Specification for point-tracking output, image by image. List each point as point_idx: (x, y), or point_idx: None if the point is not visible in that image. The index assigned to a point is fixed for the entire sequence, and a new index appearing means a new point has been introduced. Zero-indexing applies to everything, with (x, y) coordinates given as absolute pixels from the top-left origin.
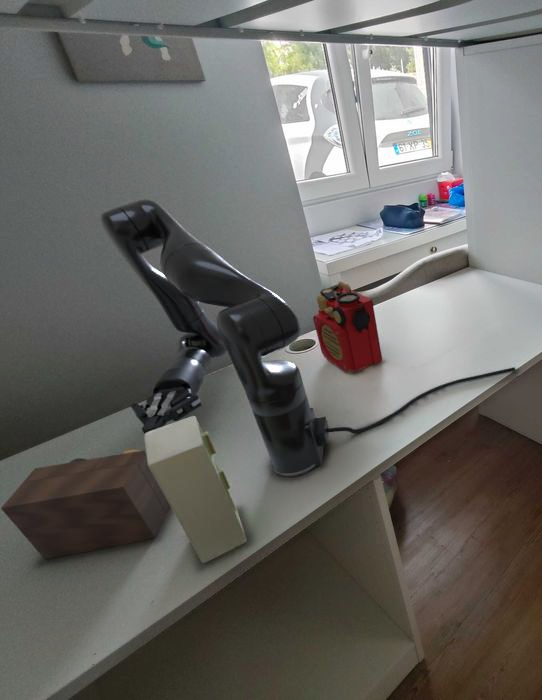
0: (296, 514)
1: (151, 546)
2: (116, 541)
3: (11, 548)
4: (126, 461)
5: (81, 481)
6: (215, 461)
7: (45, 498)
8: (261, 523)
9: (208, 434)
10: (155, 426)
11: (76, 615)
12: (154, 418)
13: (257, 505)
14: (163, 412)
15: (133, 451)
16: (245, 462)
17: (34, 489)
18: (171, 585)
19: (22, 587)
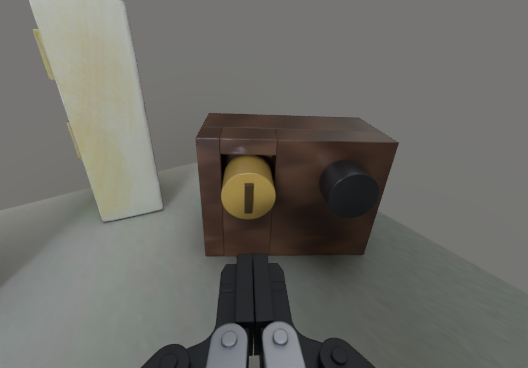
0: (28, 207)
1: None
2: None
3: (404, 228)
4: (222, 129)
5: (278, 121)
6: (68, 118)
7: (309, 116)
8: (79, 205)
9: (35, 36)
10: (232, 271)
11: None
12: (249, 305)
13: (71, 225)
14: (215, 343)
15: (238, 171)
16: (37, 328)
17: (343, 124)
18: (184, 175)
19: None
